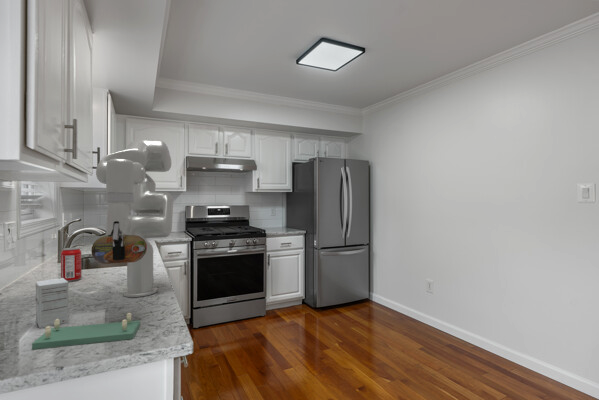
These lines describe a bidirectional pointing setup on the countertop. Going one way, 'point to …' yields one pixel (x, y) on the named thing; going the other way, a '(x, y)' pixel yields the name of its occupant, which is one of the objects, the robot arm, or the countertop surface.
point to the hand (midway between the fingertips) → (120, 258)
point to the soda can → (71, 264)
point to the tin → (133, 249)
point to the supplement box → (51, 302)
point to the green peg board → (86, 333)
